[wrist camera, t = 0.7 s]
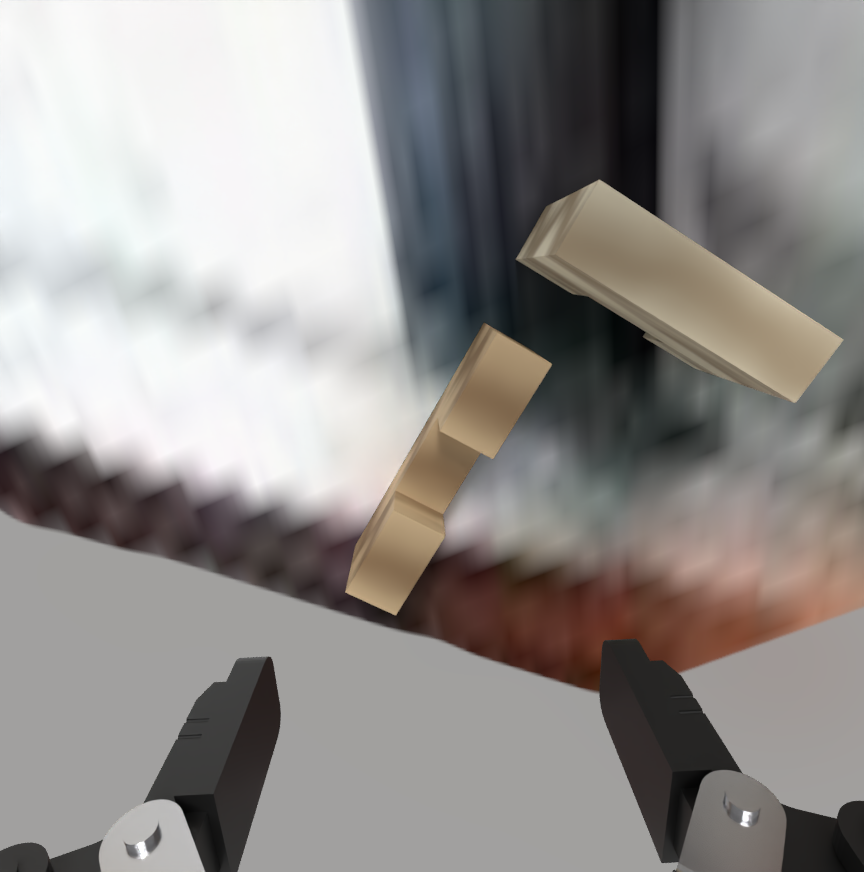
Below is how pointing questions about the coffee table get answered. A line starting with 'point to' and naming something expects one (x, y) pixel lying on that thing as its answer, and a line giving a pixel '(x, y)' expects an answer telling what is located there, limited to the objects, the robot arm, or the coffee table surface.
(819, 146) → the coffee table surface
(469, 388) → the oak slotted rail
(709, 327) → the birch slotted plate
